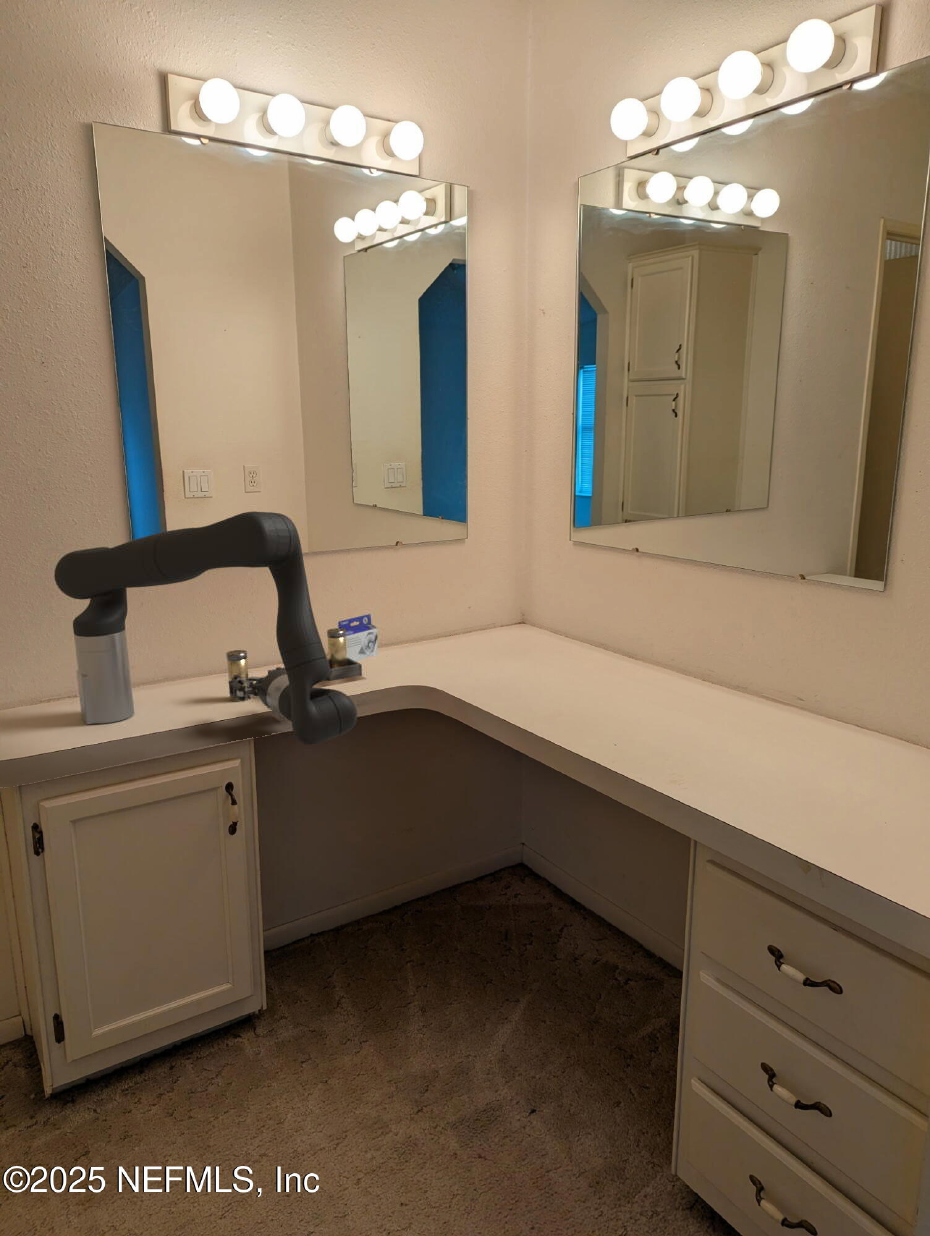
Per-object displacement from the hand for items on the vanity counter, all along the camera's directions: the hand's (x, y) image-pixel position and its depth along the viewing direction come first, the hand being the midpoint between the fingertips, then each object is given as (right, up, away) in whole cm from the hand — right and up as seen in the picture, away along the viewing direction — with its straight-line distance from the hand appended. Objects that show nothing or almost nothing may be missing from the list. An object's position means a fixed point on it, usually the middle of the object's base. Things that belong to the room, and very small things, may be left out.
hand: (256, 675), depth 166 cm
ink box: (+16, 0, +36) cm, 39 cm away
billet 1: (-6, -6, +11) cm, 14 cm away
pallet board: (+8, -3, +20) cm, 22 cm away
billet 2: (+13, -1, +22) cm, 26 cm away
